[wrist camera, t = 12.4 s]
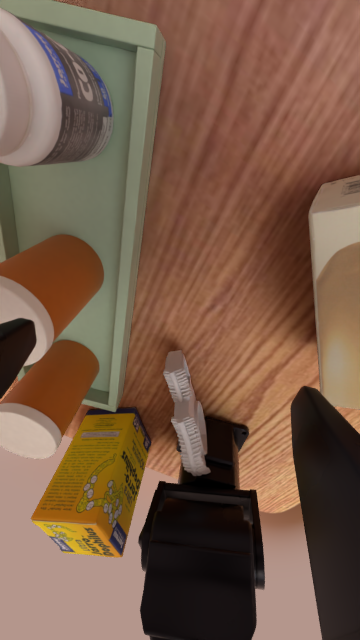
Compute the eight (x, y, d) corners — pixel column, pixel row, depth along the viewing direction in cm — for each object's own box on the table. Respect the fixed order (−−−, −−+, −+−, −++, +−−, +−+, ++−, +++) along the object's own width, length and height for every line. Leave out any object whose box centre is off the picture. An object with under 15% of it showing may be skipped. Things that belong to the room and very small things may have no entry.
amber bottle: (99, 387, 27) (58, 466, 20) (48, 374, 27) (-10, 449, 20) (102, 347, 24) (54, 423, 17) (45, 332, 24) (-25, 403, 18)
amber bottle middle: (104, 305, 22) (49, 376, 15) (41, 290, 22) (-41, 353, 15) (107, 242, 19) (42, 295, 12) (34, 224, 19) (-70, 267, 12)
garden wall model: (164, 349, 23) (156, 405, 18) (185, 345, 23) (183, 401, 17) (194, 438, 29) (195, 499, 24) (211, 436, 28) (215, 497, 23)
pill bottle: (131, 96, 14) (39, 48, 7) (94, 178, 17) (-1, 201, 10) (48, 27, 13) (-146, -103, 6) (22, 124, 16) (-140, 107, 9)
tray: (123, 394, 28) (115, 412, 26) (33, 371, 28) (19, 388, 26) (166, 41, 14) (156, 24, 12) (-18, -3, 14) (-58, -27, 12)
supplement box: (153, 441, 32) (123, 559, 23) (107, 442, 33) (62, 553, 24) (137, 405, 29) (95, 525, 20) (87, 408, 30) (27, 521, 21)
